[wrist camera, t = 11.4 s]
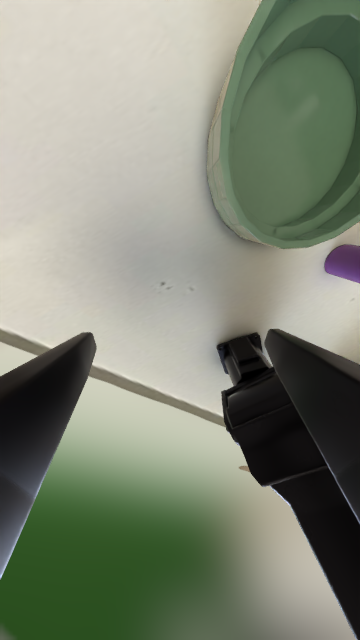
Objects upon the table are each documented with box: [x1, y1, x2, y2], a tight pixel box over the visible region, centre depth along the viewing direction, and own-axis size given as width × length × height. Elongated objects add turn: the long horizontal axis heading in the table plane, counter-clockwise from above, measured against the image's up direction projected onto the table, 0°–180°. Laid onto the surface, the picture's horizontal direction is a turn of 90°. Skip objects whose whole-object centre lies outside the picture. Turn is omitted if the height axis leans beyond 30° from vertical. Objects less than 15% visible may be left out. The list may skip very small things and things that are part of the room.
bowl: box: [207, 0, 360, 249], centre depth 13 cm, size 14×14×5 cm
